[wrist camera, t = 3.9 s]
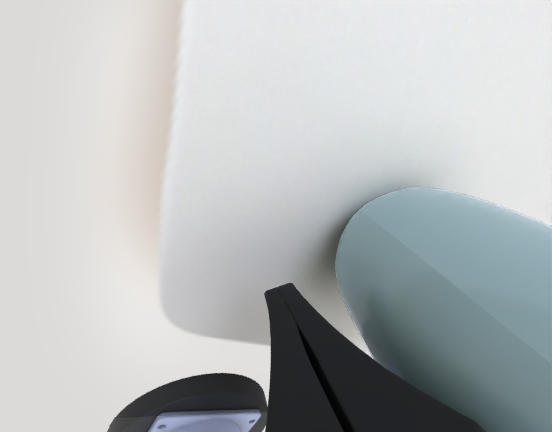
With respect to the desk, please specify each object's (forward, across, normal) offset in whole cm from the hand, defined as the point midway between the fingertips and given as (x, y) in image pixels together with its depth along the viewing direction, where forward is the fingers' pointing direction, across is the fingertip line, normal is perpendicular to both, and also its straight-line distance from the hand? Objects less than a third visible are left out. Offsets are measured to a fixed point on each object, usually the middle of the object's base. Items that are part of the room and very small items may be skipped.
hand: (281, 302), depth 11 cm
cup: (+3, -6, 0) cm, 7 cm away
